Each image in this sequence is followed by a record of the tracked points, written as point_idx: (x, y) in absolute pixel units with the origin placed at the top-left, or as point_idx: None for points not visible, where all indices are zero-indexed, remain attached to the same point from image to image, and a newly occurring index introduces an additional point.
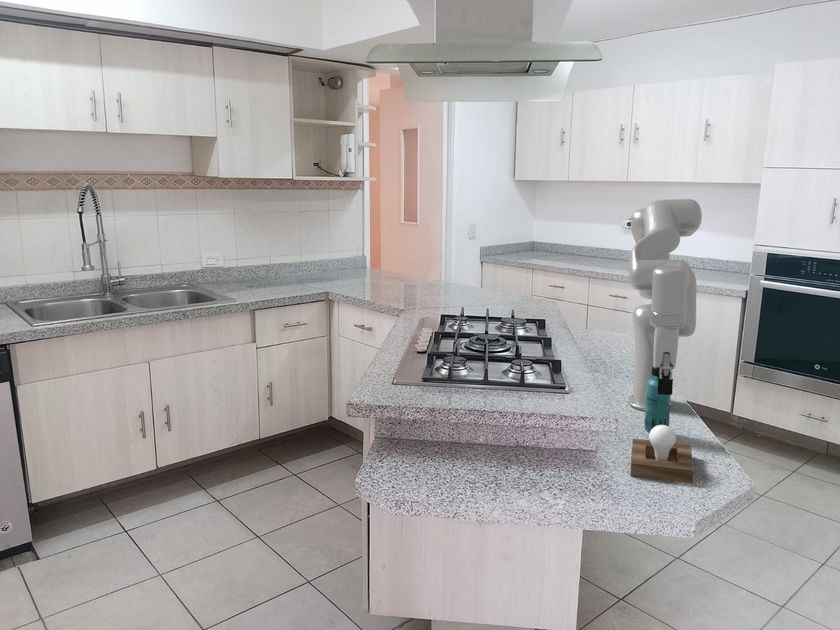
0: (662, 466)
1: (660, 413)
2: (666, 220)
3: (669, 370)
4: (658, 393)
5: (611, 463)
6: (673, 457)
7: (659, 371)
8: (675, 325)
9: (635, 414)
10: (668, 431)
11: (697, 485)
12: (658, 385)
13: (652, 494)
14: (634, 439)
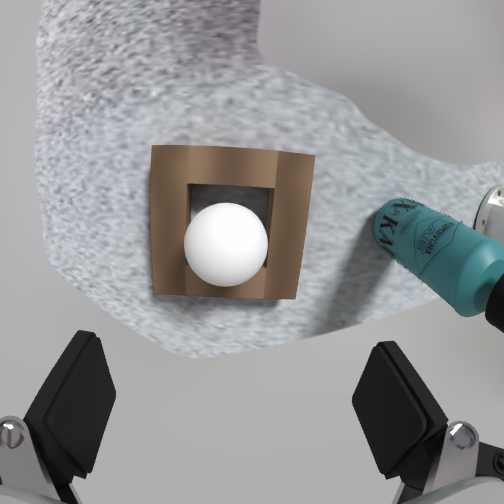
0: (152, 226)
1: (403, 250)
2: None
3: (374, 443)
4: (79, 333)
5: (223, 98)
6: None
7: (397, 390)
8: None
9: (469, 190)
10: (204, 273)
11: None
12: (53, 372)
13: (95, 195)
14: (309, 159)
